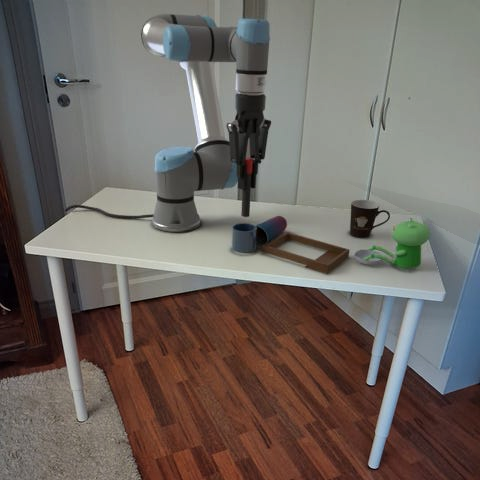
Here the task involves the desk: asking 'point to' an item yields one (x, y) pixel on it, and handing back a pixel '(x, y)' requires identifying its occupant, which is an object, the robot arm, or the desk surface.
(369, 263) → the shallow grey dish
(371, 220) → the coffee mug
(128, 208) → the desk surface
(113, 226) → the desk surface
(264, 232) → the cup
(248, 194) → the marker
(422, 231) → the toy character
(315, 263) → the pen tray
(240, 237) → the pen cup
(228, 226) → the desk surface
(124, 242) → the desk surface
